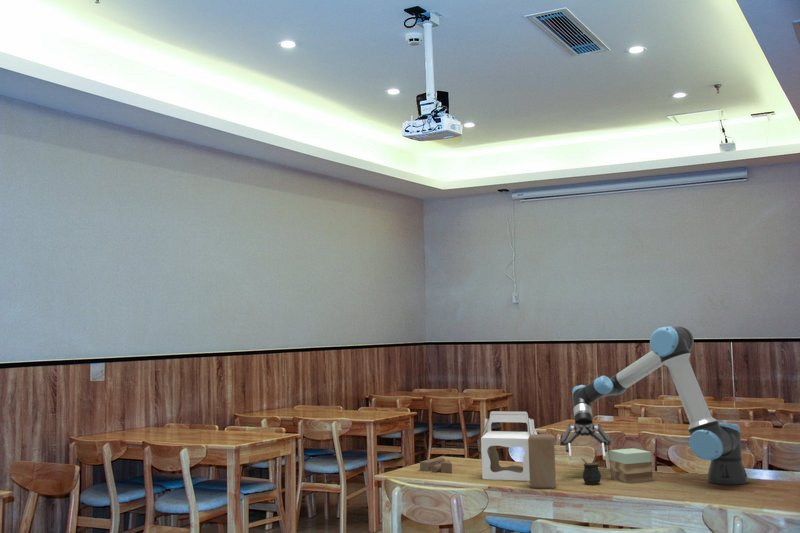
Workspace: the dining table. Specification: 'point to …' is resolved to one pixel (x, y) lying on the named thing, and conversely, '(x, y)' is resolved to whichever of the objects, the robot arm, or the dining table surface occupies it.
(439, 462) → the wooden block set
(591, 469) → the mate gourd
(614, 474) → the slab bottom
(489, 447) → the gable box
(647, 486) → the dining table surface
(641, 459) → the slab top
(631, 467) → the slab middle
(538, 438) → the block
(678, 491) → the dining table surface
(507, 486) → the dining table surface
